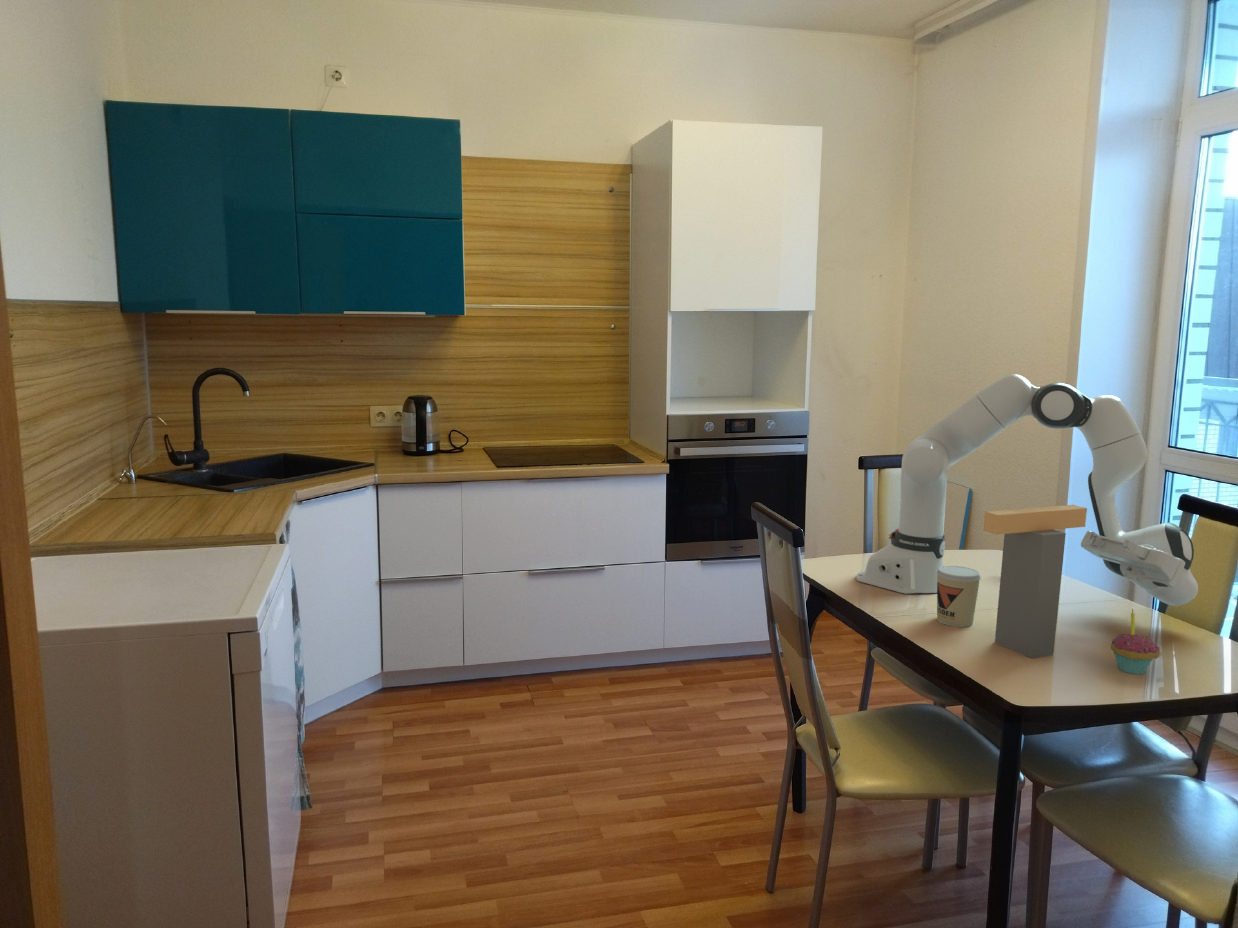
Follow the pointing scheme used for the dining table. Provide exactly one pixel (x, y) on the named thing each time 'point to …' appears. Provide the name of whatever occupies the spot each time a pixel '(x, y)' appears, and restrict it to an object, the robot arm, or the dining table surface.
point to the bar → (1034, 519)
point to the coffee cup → (957, 595)
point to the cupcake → (1134, 651)
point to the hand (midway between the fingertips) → (1107, 538)
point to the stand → (1030, 591)
